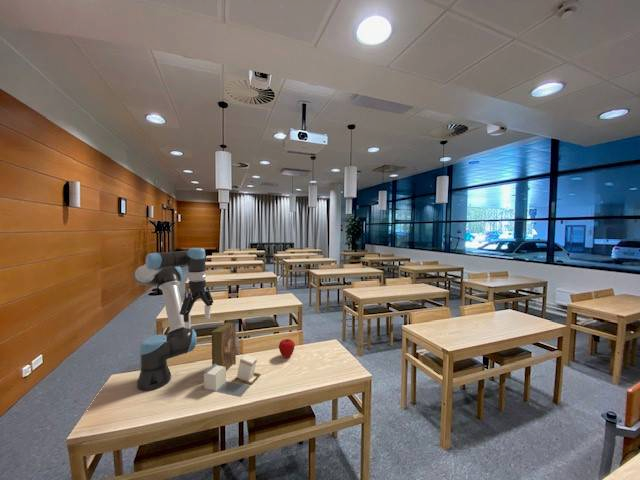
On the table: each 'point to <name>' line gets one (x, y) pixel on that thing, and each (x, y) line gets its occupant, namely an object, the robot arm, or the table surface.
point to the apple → (286, 347)
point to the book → (224, 345)
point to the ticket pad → (214, 377)
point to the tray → (247, 381)
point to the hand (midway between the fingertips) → (198, 322)
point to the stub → (246, 367)
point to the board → (232, 388)
